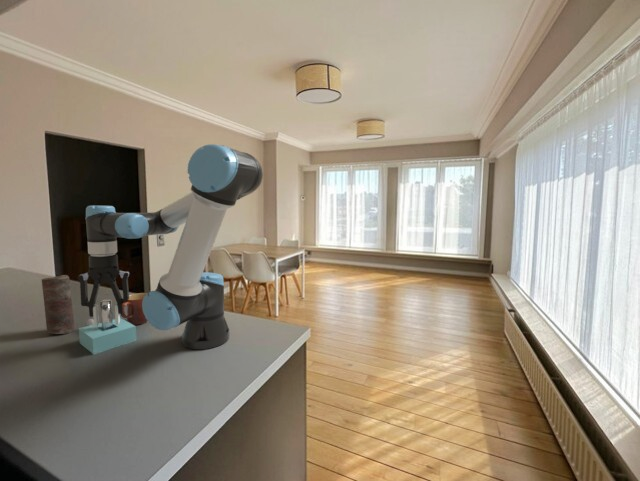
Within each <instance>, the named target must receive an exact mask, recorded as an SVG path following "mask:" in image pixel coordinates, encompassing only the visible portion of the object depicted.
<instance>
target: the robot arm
mask: <svg viewBox="0 0 640 481" xmlns="http://www.w3.org/2000/svg"><path fill="white" fill-rule="evenodd" d="M187 174H188V175H189V176H188V179H189V182H190V183H191V188H190V191H191V192H190V193H188V194H186V195H184V196H183V197H181V198H179V199H177V200H176V201H173V202H172V203H170V204H168V205H166V206H164V207H163V208H161V209H159V210H157V211H155V212H154V211H152V212H116V208H115V207H114V206H113V205H87V207H86V208H85V224H86V225H85V226H86V237H87V253H88V255H89V256H88V271H87V272H85V273H81V274H79V275H77V280H78V282H79V288H80V290H79V291H80V304H81V306H82V307H88V315H89V317H90V318H92V317H93V318H92V319H93V320H94V327H97V326H98V325H99V323H100V315H99V314H100V313H99V304H96V302H97V297H98V294H99V289H100V286H101V285H102V284H108V285H109V286H110V288H111V291H112V295H113V296H114V299H115V301H116V303H115V304H114V316H115V317H114V319H115V322H116V325H118V324H119V322H120V318H121V314H122V312H123V303H125V302H127V301H128V300H129V295H130V292H129V280H128V279H129V276H130V271H129V270H127V271H123V270H121V268H120V267H119V256H118V254H117V253H118V240H117V238H124V239H130V240H132V239H140V238H142V237H147V236H155V235H157V236H158V235H168V234H171V233H174V232H176V231H177V230H178V228H179V227H180V226H181V225H184V224H185V225H184V227H183V230H182V232H181V235H180V238H179V242H178V244H177V247H176V250H175V252H174V256H173V258H172V261H171V264H170V266H169V270H168V272H167V273H165V274H163V275H161V276H160V278H159V281H158V283H157V286H156V289H155V290H150V291H149V292H146V293H147V294H146V295H145V296H144V298H143V301H142V309H143V313H144V315H145V317H146V319H147V322H148V323H149V325H151V326H152V327H153V328H154V329H157V330H159V331H168V330H171V329H175V328H178V327H179V326H180V325H182V324H185V323H186V324H185V326H184V329H183V333H182V335H181V341H182V342H181V343H182V345H183V347H185V348H188V349H191V350H206V349H208V350H209V349H214V348H216V347H219V346H221V345H224V344H225V343H226V342H228V341H229V339H230V329H229V324H228V323H227V320H226V317H225V284H224V283H225V282H224V281H225V280H224V276H223V275H222V274H220V273H217V272H207V271H206V272H204V270H205V269H206V268H205V267H206V265H207V263H208V260H209V258H210V254H211V252H212V251H213V247H214V245H215V242H216V238H217V236H218V234H219V231H220V229H221V226H222V222H223V220H224V218H225V216H226V212H227V210H228V209H230V208H232V207H235V206H236V203H237V201H239V200H240V199H242V198H245V197H247V196H248V195H251V194H252V193H254V192H255V191H256V190H257V189H258V188H260V186H261V184H262V182H263V176H264V173H263V169H262V166H261V163H260V162H259V160H258V159H257V158H256V157H255V156H253V155H252V154H249V153H247V152H243V151H240V150H237V149H234V148H231V147H229V146H225V145H221V144H215V143H214V144H213V143H211V144H205V145H203V146H200V147H199V148H197V149H196V150H195V151H194V152H193V153H192V155H191V156H190V159H189V160H188V164H187ZM119 275H120V278H121V279H122V280H121V283H122V284H121V285H122V294H121V292H120V289H119V287H118V284H117V280H116V278H118V276H119ZM89 278H90V279H91V280H92V281H93V286H92V290H91V294H90V297H89V293H88V289H89V288H88V279H89Z"/></svg>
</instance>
